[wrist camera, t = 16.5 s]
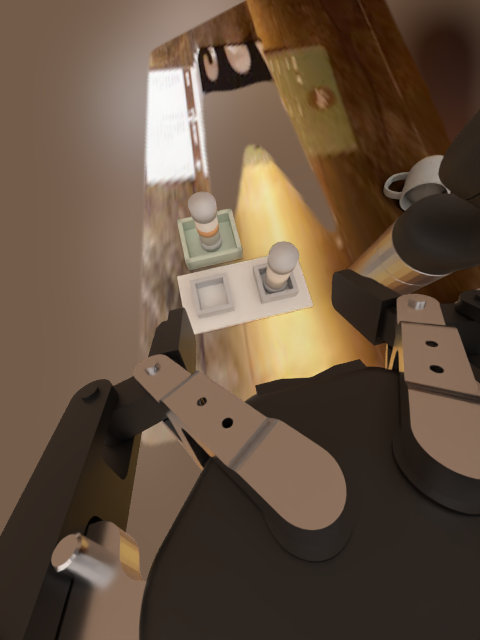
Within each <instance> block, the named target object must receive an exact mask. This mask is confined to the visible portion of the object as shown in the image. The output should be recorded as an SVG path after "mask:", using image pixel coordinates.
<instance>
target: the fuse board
mask: <svg viewBox="0 0 480 640" xmlns="http://www.w3.org/2000/svg"><path fill="white" fill-rule="evenodd" d="M267 266H268V256H265V257H261V258H256V259H252V260H248V261H243V262H239V263H234V264H230V265H226V266H221V267H217V268H213V269H208V270H204V271H199V272H195V273H191V274H186V275H182V276H178V277H177V279H178V284H179V289H180V295H181V300H182V305H183V307H184V308H185V309H186V312H187V315H188V317H189V320H190V323H191V326H192V329H193V332H194V335H197V334H202V333H206V332H210V331H214V330H218V329H222V328H227V327H231V326H235V325H239V324H243V323H247V322H252V321H256V320H260V319H264V318H268V317H273V316H277V315H281V314H285V313H289V312H293V311H298V310H302V309H306V308H310V307H312V306H313V303H312V300H311V297H310V294H309V291H308V288H307V285H306V282H305V279H304V276H303V273H302V270H301V267H300V264H299V261H298V262H297V264H296V266H295V268H294V270H293V271H292V272H291V273H290V276H289V278H288V280H287V284H286V286H285V288H284V290H283V291H280V292H276V293H272V294H269V293H268V292H266V291H265V289H264V287H263V279H264V275H265V273H266V270H267Z"/></svg>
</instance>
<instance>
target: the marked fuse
mask: <svg viewBox="0 0 480 640" xmlns="http://www.w3.org/2000/svg"><path fill="white" fill-rule="evenodd" d="M188 207H189V210H190V213H191V216H192V218H193V220H194V222H195V226H196V229H197V232H198V234H199V241H200V244H201V246H202V248H203V249H204V250H205V251H207V252H215V251H217V250H218V249H219V248H220V247H221V245H222V238H221V233H220V231H219V224H218V219H217V206H216V200H215V198H214V196H213V195H211V194H210V193H208V192H197V193H195V194H194V195H192V196H191V197H190V199H189V201H188Z"/></svg>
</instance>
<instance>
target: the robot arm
mask: <svg viewBox="0 0 480 640" xmlns="http://www.w3.org/2000/svg"><path fill="white" fill-rule="evenodd" d="M438 175H439V179H440V181H441V183H442V184H443V185H444V186H445V187H446V188H447V189H448V190H450V191H451V192H452V193H454V194H448V193H447V194H434V195H430V196H427V197H424V198H422V199H420V200H418V201H417V202H415V203H414V204H412V205H411V206H410V207H409V208H408V209H407V210H406V211H405V212H404V213H403V214H402V215H401V216H400V217H399V218H398V219H397V220H396V221H395V222H394V223H393V224H392V225H391V226H390V227H389V228H388V229H387V230H386V231H385V232H384V233H383V234H382V235H381V236H380V237H379V238H378V239H377V240H376V241H375V242H374V243H373V244H372V245H371V246H370V247H369V248H368V249H367V250H366V251H365V252H364V253H363V254H362V255H361V256H360V257H359V258H358V259H357V260H356V261H355V262H354V263H353V264H352V265H351V266H350V267H349V268H348V269H347V270H343V271H338V272H335V273H334V274H333V281H332V304H333V307H334V309H335V310H336V311H337V312H338V313H339V314H341V315H342V316H343V317H344V318H345V319H346V320H347V321H348V322H349V323H350V324H351V325H352V326H354V327H355V328H356V329H357V330H358V331H359V332H360V333H361V334H362V335H363V336H364V337H365V338H367V339H368V340H369V341H370V342H371V343H372V344H373V345H378V344H382V343H387V347H386V365H385V368H381V367H366V366H365V365H364V364H363V362H362V361H361V360H360V359H359V360H355V361H351V362H347V363H343V364H339V365H335V366H333V367H331V368H329V369H327V370H325V371H323V372H321V373H319V374H317V375H315V376H313V377H310V378H293V379H279V380H275V381H271V382H267V383H263V384H259V385H255V387H256V392H257V394H256V395H254V396H252V397H251V398H249V399H248V400H246V401H245V402H244V401H242V400H241V399H239V398H238V397H236V396H235V395H233V394H232V393H231V392H229V391H228V390H226V389H225V388H223V387H222V386H220V385H219V384H217V383H216V382H215V381H213V380H212V379H210V378H209V377H207V376H206V375H204V374H203V373H201V372H200V371H196V340H195V335H194V332H193V329H192V326H191V323H190V320H189V317H188V315H187V312H186V309H185V308H184V307H183V308H179V309H175V310H170V311H169V316H168V320H167V321H164V322H162V323H161V324H160V325H159V326H158V327H157V328H156V331H155V336H154V338H153V342H152V345H151V349H150V352H149V356H148V358H146V359H144V360H143V361H141V362H140V363H139V364H138V365H137V366H136V368H135V370H134V373H133V375H134V376H133V377H131V378H129V379H127V380H125V381H123V382H121V383H119V384H117V385H114V386H113V385H112V384H111V383H110V381H109V380H106V379H102V380H96V381H93V382H91V383H89V384H87V385H86V386H84V387H83V388H81V389H80V390H79V391H78V392H77V393H76V394H75V395H74V396H73V398H72V399H71V401H70V403H69V405H68V407H67V408H66V410H65V413H64V414H63V416H62V418H61V420H60V422H59V424H58V426H57V428H56V430H55V432H54V434H53V436H52V437H51V439H50V441H49V443H48V445H47V447H46V450H45V451H44V453H43V455H42V457H41V459H40V461H39V463H38V465H37V466H36V469H35V470H34V473H33V474H32V476H31V478H30V480H29V482H28V484H27V486H26V488H25V490H24V492H23V493H22V495H21V498H20V499H19V501H18V503H17V505H16V507H15V509H14V511H13V513H12V515H11V517H10V519H9V521H8V522H7V525H6V526H5V528H4V530H3V532H2V534H1V536H0V640H480V392H479V389H478V386H477V384H476V381H478V382H479V383H480V290H469V291H464V292H462V293H461V294H460V296H459V298H458V301H457V303H447V304H439V302H438V301H437V300H436V299H434V298H432V297H429V296H426V295H421V294H409V293H411V292H413V291H416V290H418V289H420V288H422V287H424V286H426V285H428V284H430V283H432V282H434V281H436V280H438V279H440V278H443V277H445V276H447V275H449V274H451V273H453V272H455V271H457V270H462V269H468V268H472V267H475V266H478V265H480V110H479V111H478V112H477V113H476V114H475V115H474V116H473V118H472V119H471V120H470V121H469V122H468V123H467V124H466V125H465V127H464V128H463V129H462V131H461V132H460V133H459V134H458V135H457V137H456V138H455V139H454V141H453V142H452V144H451V145H450V147H449V148H448V150H447V151H446V153H445V155H444V157H443V159H442V161H441V163H440V167H439V172H438ZM475 380H476V381H475ZM159 422H162V423H163V424H164V425H165V426H166V427H167V429H168V430H169V431H170V432H171V433H172V434H173V435H174V436H175V438H176V439H177V440H178V441H179V442H180V443H181V444H182V446H183V447H184V448H185V449H186V450H187V452H188V453H189V454H190V456H191V457H192V459H193V460H194V461H195V462H196V464H197V465H198V466H199V468H200V469H201V470H202V472H201V474H200V476H199V478H198V479H197V481H196V483H195V485H194V487H193V489H192V490H191V492H190V494H189V496H188V498H187V500H186V501H185V503H184V505H183V507H182V508H181V510H180V512H179V514H178V516H177V517H176V519H175V521H174V523H173V525H172V527H171V529H170V530H169V532H168V534H167V536H166V537H165V539H164V541H163V543H162V545H161V547H160V548H159V550H158V552H157V554H156V557H155V559H154V561H153V564H152V566H151V569H150V572H149V575H148V578H147V580H146V581H143V580H142V578H141V574H140V568H139V549H138V545H137V543H136V541H135V540H134V539H133V538H132V537H131V536H130V535H128V534H126V527H127V521H128V515H129V508H130V502H131V496H132V490H133V483H134V477H135V471H136V465H137V458H138V452H139V447H140V440H141V434H142V432H143V431H144V430H146V429H148V428H150V427H152V426H153V425H155V424H157V423H159Z"/></svg>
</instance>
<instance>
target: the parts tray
mask: <svg viewBox="0 0 480 640" xmlns="http://www.w3.org/2000/svg"><path fill="white" fill-rule="evenodd" d="M217 219H218V224H219V231H220V233H221V238H222V245H221V247H220V248H219V249H218V250H217V251H215V252H207V251H205V250H204V249H203V248H202V246H201V244H200V241H199V234H198V232H197V229H196V226H195V222H194V220H193V218H192V217H189V218H184V219H180V220H177V223H178V228H179V232H180V237H181V242H182V247H183V252H184V257H185V262H186V265H187V267H188V268H189V270H194V269H198V268H203V267H207V266H212V265H216V264H220V263H225V262H229V261H233V260H238V259H242V258H243V250H242V247H241V243H240V239H239V236H238V232H237V228H236V225H235V221H234V217H233V213H232V210H231V208H230V209H225V210H221V211H217Z"/></svg>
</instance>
